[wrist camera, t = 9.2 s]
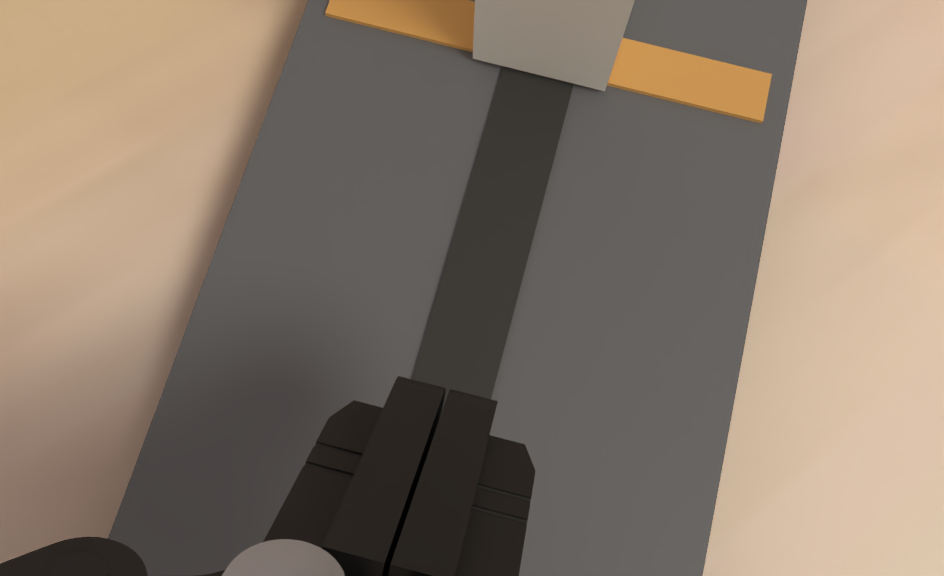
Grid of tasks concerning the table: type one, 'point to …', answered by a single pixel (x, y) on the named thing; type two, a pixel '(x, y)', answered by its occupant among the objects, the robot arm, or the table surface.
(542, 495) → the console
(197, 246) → the table surface
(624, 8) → the fader
